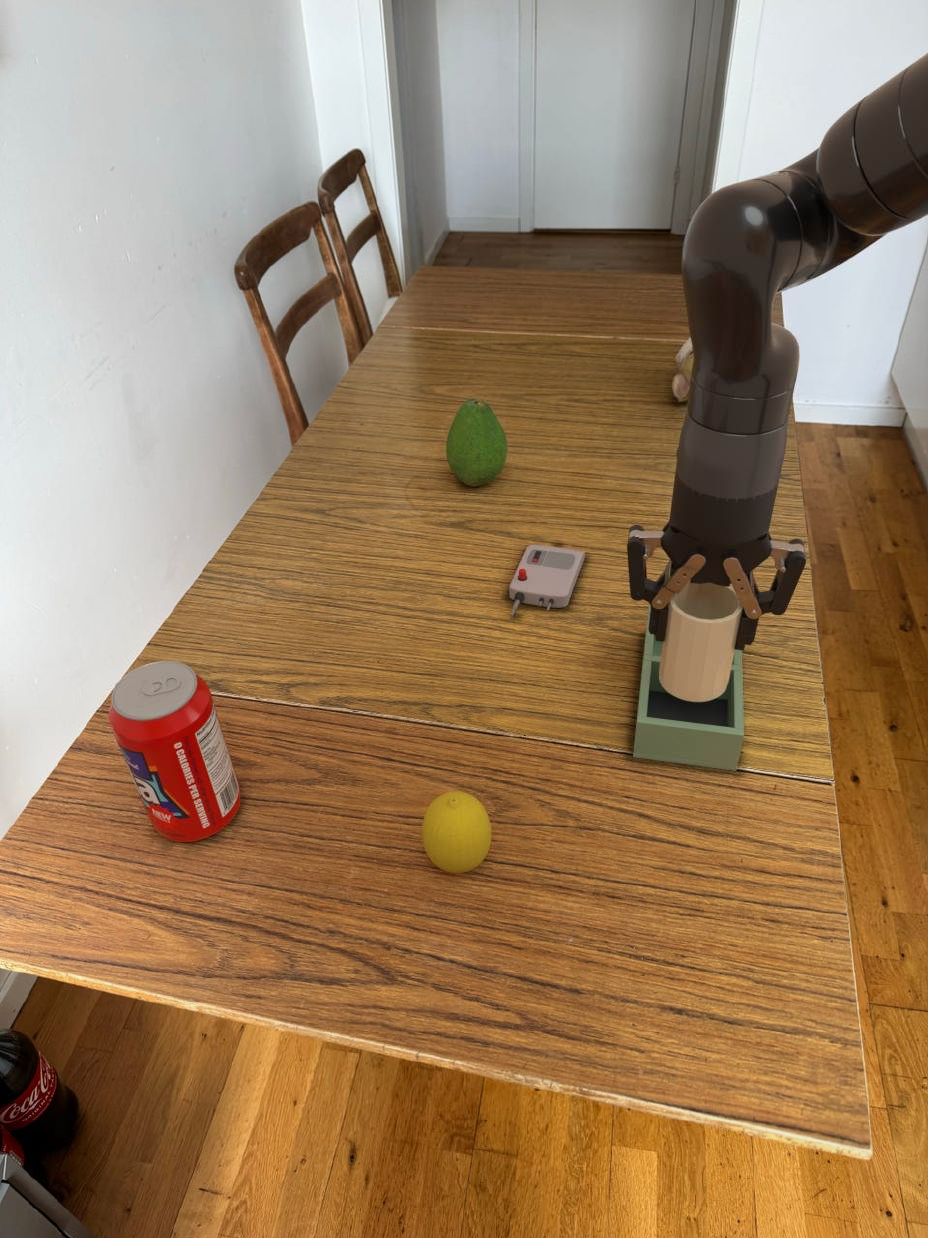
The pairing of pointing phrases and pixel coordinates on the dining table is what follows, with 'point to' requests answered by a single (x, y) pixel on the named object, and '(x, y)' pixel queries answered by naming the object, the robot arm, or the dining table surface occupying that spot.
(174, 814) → the soda can
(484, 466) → the fruit
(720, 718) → the holder
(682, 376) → the ceramic sculpture
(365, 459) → the dining table surface
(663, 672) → the cup
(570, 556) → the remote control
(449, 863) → the lemon
